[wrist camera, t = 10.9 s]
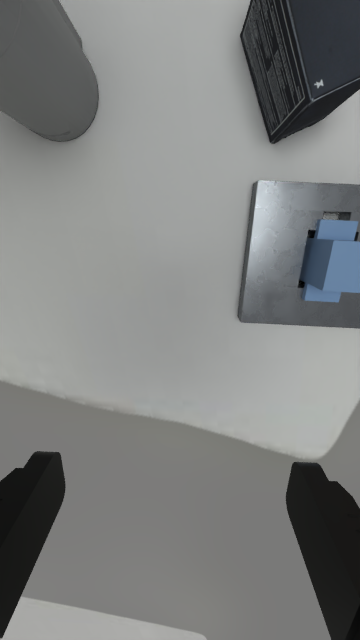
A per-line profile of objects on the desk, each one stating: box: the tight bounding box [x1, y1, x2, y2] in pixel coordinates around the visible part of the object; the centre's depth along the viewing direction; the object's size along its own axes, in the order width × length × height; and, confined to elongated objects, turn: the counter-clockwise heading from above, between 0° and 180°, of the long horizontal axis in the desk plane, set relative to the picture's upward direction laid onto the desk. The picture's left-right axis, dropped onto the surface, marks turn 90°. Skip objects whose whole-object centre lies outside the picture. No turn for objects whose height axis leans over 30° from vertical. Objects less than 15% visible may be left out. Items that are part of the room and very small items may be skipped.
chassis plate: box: [238, 180, 360, 328], centre depth 33 cm, size 16×18×2 cm
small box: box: [240, 0, 360, 143], centre depth 23 cm, size 11×6×10 cm, turn 23°
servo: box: [299, 219, 360, 302], centre depth 31 cm, size 9×4×7 cm, turn 177°
